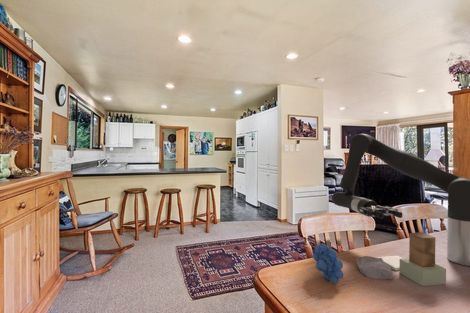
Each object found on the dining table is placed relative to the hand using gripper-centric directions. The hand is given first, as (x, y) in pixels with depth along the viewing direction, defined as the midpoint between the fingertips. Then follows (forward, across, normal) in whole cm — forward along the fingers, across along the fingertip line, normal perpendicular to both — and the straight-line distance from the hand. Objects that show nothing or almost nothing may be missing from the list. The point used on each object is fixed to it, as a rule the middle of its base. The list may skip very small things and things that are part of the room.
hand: (392, 215), depth 94 cm
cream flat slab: (+2, 0, +18) cm, 19 cm away
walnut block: (+13, 0, +13) cm, 18 cm away
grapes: (+9, -34, +19) cm, 40 cm away
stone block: (+5, -13, +19) cm, 24 cm away
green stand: (+13, 0, +18) cm, 22 cm away
